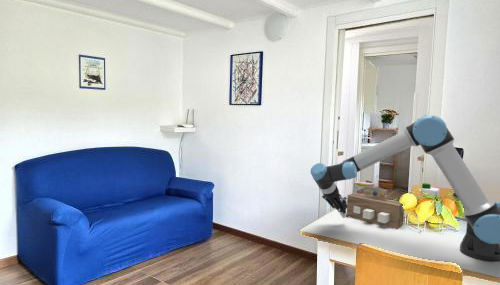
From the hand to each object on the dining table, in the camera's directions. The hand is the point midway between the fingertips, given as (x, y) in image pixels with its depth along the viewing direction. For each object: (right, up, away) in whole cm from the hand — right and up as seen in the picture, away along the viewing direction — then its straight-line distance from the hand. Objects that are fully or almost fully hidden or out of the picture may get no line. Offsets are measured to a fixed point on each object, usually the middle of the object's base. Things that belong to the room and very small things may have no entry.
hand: (344, 215), depth 181 cm
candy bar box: (+18, -3, +29) cm, 34 cm away
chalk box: (+27, -2, +43) cm, 51 cm away
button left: (+11, -1, +12) cm, 17 cm away
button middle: (+14, -2, +3) cm, 14 cm away
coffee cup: (+71, -5, +17) cm, 73 cm away
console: (+18, -4, +8) cm, 20 cm away
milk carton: (+49, -5, +11) cm, 50 cm away
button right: (+20, -2, -2) cm, 20 cm away
